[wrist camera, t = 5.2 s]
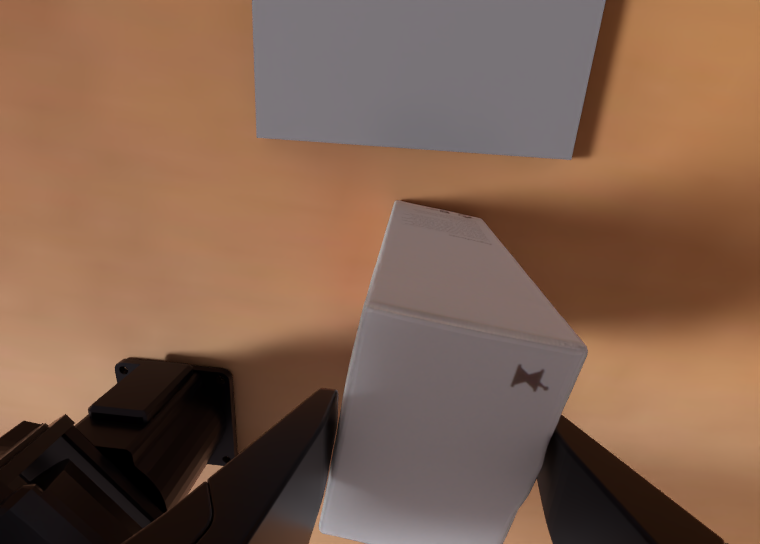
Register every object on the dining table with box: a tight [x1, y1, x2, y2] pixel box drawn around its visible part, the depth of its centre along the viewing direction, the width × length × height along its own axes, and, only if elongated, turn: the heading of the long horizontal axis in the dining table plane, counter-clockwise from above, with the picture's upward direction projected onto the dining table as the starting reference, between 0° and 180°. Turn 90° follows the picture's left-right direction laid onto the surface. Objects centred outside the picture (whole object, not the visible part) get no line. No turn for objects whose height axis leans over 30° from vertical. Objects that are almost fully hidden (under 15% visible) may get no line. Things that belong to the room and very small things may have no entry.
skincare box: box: [319, 200, 588, 544], centre depth 13 cm, size 6×4×12 cm
